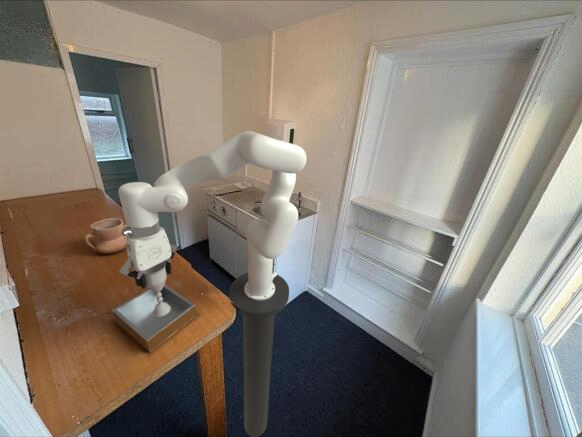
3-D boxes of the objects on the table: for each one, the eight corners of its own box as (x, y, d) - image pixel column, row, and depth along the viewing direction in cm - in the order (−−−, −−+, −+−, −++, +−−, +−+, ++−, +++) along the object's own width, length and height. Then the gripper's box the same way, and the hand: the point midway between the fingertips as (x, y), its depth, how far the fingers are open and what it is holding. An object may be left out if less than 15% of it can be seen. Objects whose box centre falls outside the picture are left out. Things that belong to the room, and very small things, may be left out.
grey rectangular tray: (163, 292, 92) (160, 281, 90) (196, 315, 84) (195, 304, 81) (115, 321, 79) (111, 310, 76) (150, 352, 70) (146, 341, 68)
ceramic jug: (129, 237, 125) (123, 213, 119) (138, 248, 117) (132, 223, 111) (86, 249, 113) (77, 223, 107) (93, 263, 105) (84, 235, 98)
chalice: (155, 323, 72) (144, 277, 64) (145, 311, 75) (133, 266, 68) (178, 309, 77) (170, 265, 70) (167, 299, 81) (159, 256, 73)
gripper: (116, 246, 55) (132, 302, 62) (181, 221, 68) (188, 269, 76) (100, 236, 58) (117, 290, 65) (165, 214, 72) (173, 261, 79)
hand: (155, 278), depth 71 cm, fingers closed on chalice, 7 cm apart
